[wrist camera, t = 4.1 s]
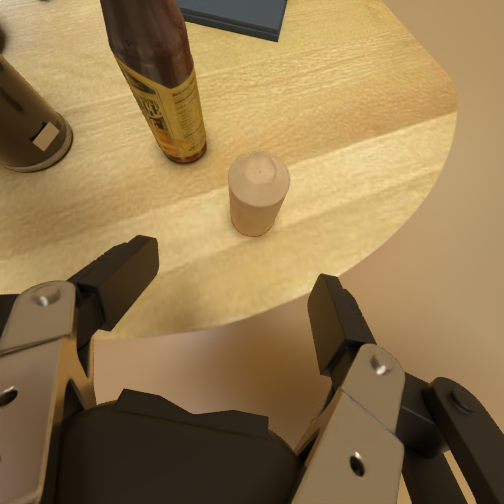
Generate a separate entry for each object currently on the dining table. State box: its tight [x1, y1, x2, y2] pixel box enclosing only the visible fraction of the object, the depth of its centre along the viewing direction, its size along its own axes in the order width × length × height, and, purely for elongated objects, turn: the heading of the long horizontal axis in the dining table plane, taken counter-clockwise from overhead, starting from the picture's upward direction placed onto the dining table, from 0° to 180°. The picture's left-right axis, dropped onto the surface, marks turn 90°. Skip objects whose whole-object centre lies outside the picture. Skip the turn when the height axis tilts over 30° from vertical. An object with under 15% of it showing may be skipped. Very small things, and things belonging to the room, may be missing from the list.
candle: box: [228, 151, 290, 236], centre depth 21 cm, size 6×6×10 cm
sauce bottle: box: [100, 0, 206, 163], centre depth 18 cm, size 6×6×20 cm
